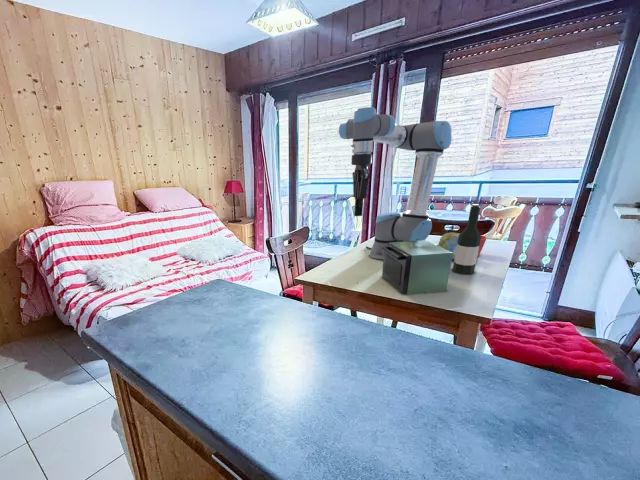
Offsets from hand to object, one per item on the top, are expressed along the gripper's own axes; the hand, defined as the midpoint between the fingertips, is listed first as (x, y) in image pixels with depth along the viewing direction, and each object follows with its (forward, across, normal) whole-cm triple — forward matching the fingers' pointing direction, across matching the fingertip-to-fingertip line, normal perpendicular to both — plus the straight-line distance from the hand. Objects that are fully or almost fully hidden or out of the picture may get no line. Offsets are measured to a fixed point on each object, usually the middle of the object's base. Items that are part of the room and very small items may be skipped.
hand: (358, 215), depth 133 cm
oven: (+29, +6, +24) cm, 38 cm away
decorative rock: (+30, -24, +57) cm, 69 cm away
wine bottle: (+30, -4, +52) cm, 60 cm away
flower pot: (+30, -27, +71) cm, 82 cm away
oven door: (+29, +6, +14) cm, 33 cm away
